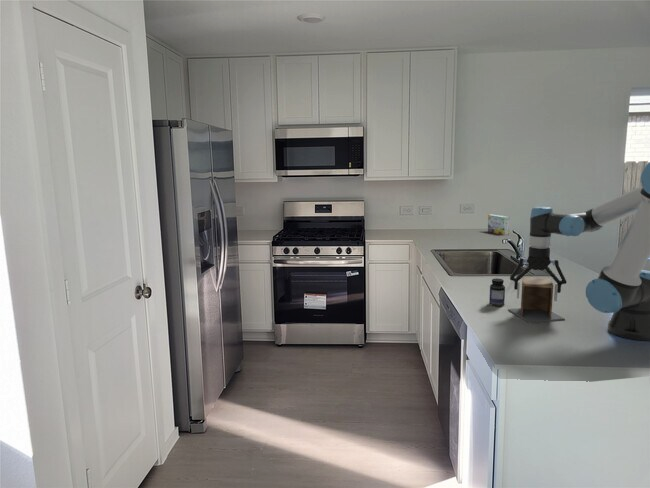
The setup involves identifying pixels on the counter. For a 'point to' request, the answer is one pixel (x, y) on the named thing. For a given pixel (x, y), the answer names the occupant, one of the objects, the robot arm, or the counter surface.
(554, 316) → the mat
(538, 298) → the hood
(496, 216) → the snack box
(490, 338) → the counter surface
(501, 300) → the pill bottle
